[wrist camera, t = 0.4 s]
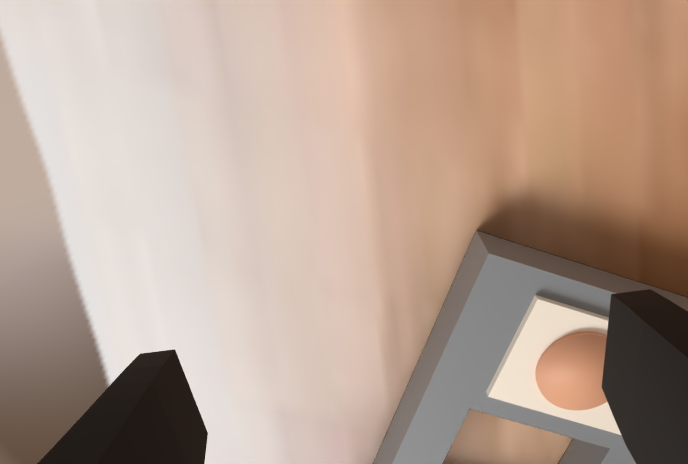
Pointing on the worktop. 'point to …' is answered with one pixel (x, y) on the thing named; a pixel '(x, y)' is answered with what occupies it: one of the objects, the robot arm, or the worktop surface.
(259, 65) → the worktop surface
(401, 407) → the board
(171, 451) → the robot arm
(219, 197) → the worktop surface
